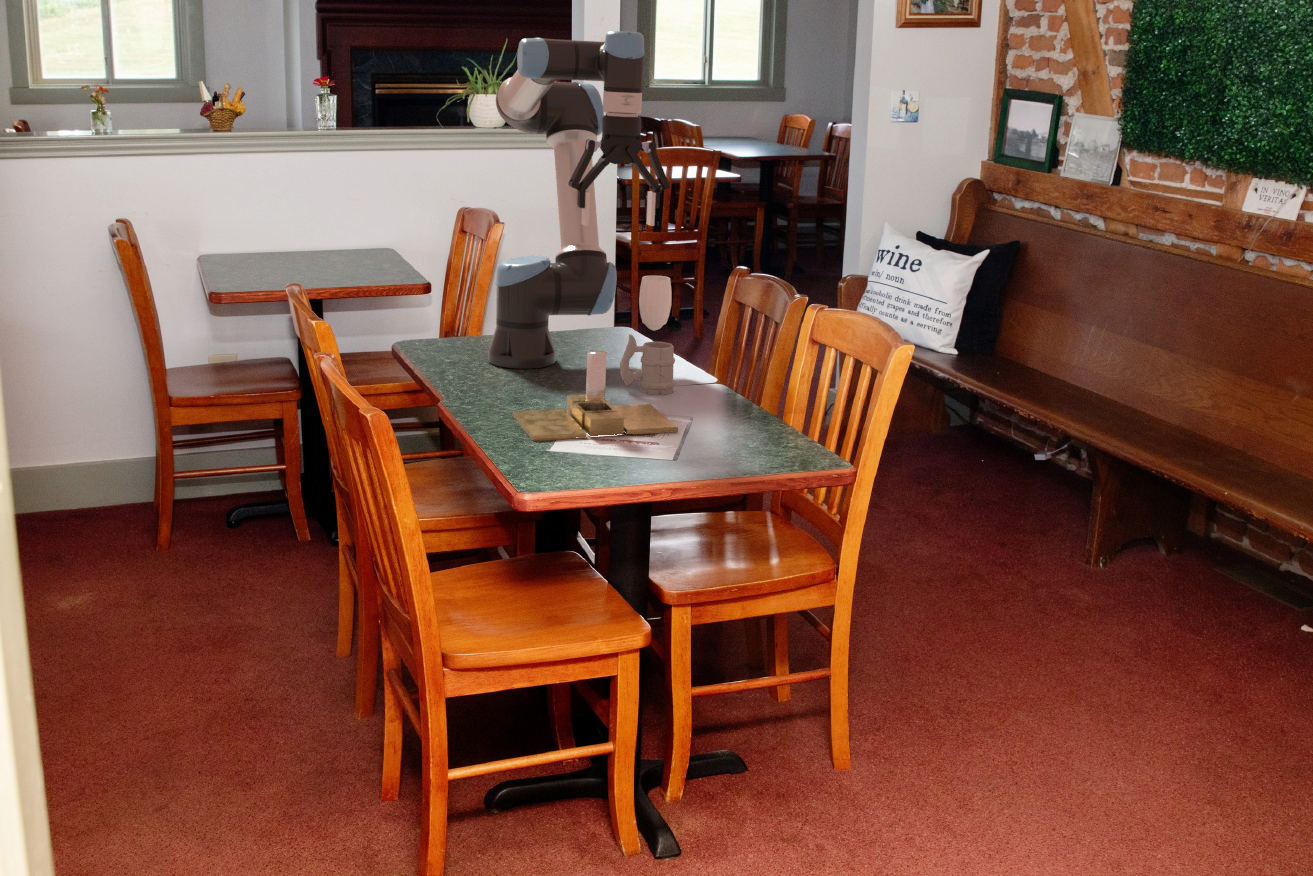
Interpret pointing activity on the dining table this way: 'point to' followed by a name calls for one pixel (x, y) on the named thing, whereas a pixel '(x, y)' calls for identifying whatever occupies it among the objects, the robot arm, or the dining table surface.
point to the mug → (650, 366)
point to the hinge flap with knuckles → (635, 417)
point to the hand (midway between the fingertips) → (618, 225)
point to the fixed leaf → (570, 422)
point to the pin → (595, 380)
